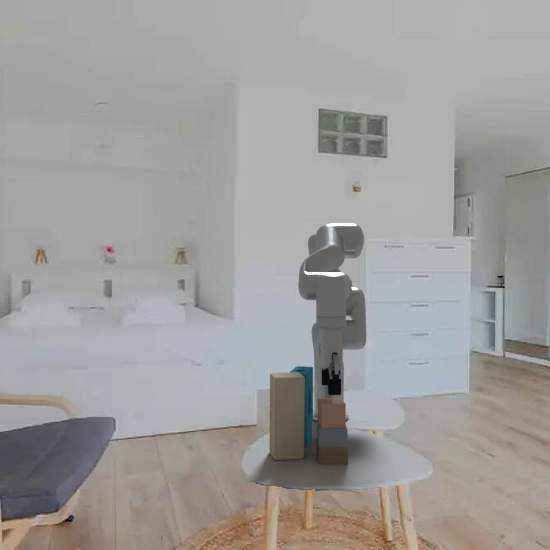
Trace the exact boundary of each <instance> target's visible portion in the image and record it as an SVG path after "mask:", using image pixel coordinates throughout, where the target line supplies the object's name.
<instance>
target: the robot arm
mask: <svg viewBox="0 0 550 550" xmlns="http://www.w3.org/2000/svg"><path fill="white" fill-rule="evenodd" d="M364 244H365V236H364V232H363V229H362V227H361V226H360V225H358V224H356V223H328V224H327V223H326V224H324V225H322V226H320V227H318V229H317V231H316V233H314V234H312V235H310V236H309V237H308V239H307V248H308V249H307V250H308V254H309V256H307V257H306V258H305V259H304V260H303V261H302V263H301V264H300V267H299V273H298V283H297V284H298V285H297V286H298V293H299V296H300V297H301V298H302V299H303V300H306V301H315V306H316V308H315V309H316V310H315V311H316V312H315V313H316V314H315V318H316V321H315V322H314V323H313V325H312V327H311V340H312V347H313V348H312V349H313V361H314V363H313V364H314V366H313V421H316V422H318V398H341V399H342V400H343V401H344V402H345V396H344V395H345V365H344V361H343V357H344V356H343V350H346V351H347V350H351V351H353V350H354V351H355V350H362V349H363V348H365V346H366V344H367V318H366V317H367V314H366V311H367V310H366V298H365V293H364V291H363V289H361V288H359V287H354V286H353V281H352V278H351V277H350V276H349V275H348V274H347V273H345V272H342V271H341V269H340V268H341V266H342V265H343V264H344V262H345V259H357V258H359V257H360V256H361V254H362V251H363V248H364ZM347 317H349V318H350V319H347ZM348 419H349V413H348V412H347V411H346V421H347V420H348Z"/></svg>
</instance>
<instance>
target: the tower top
mask: <svg viewBox="0 0 550 550" xmlns="http://www.w3.org/2000/svg"><path fill="white" fill-rule="evenodd" d="M316 438H318V443H319V447H347V446H348V427H347V425H346V428H321V426H320V424H319V422H318V421H317V437H316Z"/></svg>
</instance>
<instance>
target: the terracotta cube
mask: <svg viewBox="0 0 550 550" xmlns="http://www.w3.org/2000/svg"><path fill="white" fill-rule="evenodd" d="M346 407H347V406H346V402H345V400H344V401H343V400H342V399H341V398H318V421H317V423H318V422H319V424H320V426H321V428H346V426H347V424H346V421H347V420H346V412H347V409H346Z"/></svg>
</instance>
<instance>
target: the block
mask: <svg viewBox="0 0 550 550" xmlns="http://www.w3.org/2000/svg"><path fill="white" fill-rule="evenodd" d="M291 372H298V373H300V374H301V375H303V376H304V377H305V404H304V448H307V447H308V446H309V445H310V443H311V441H312V439H313V421H314V420H313V410H314V366H303V365H302V366H300V365H297V366H295V367H294V368H293V369H292V370H290V371H289V372H288V373H291Z"/></svg>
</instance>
